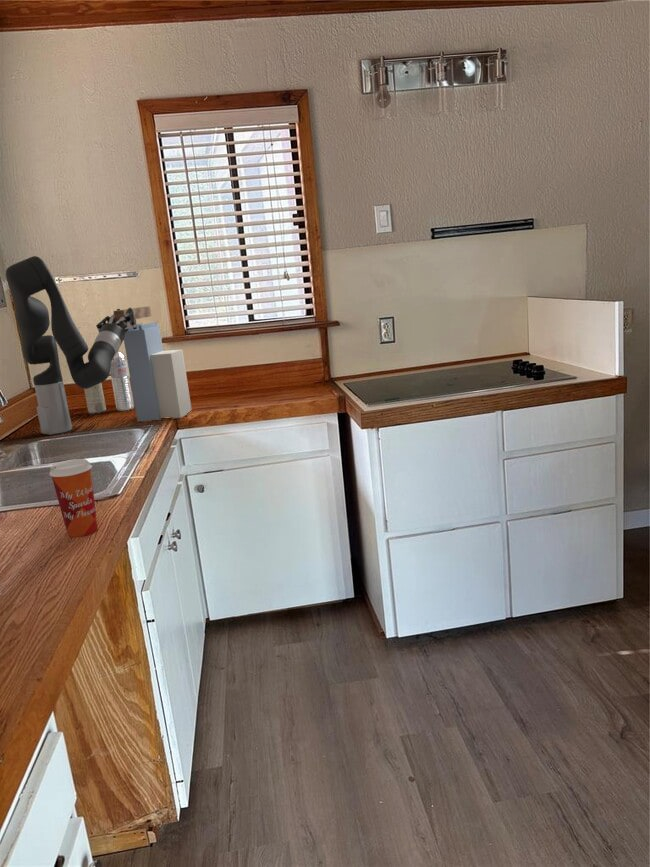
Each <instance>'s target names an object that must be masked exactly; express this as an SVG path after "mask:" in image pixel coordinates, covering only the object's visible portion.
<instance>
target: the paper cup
mask: <svg viewBox="0 0 650 867" xmlns="http://www.w3.org/2000/svg"><path fill="white" fill-rule="evenodd" d="M92 468H93V464H91V463H90V461H88V460H87V459H85V458H74V459H68V460H63V461H60V462H57V463H54V464H53V465H51V466H50V472H49V476H50V477H51V478H52V482H53V486H54V489H55V493H56V498H57V501H58V502H57V503H58V505H59V508H60V512H61V517H62V520H63V522H64V526H65V530H66V534H67V535H68V537H70V538H83V537H86V536H90V535H92V534H95V533H96V532H97V531H98V529H99V528H98V517H97V510H96V509H97V508H96V502H95V494H94V486H93V479H92V472H91V470H92Z"/></svg>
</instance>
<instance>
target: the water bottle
mask: <svg viewBox="0 0 650 867" xmlns="http://www.w3.org/2000/svg"><path fill="white" fill-rule="evenodd" d="M110 380H111V385H112V390H113V396H114V402H115V408H116V410H117V411H118V412H125V411H126V410H127V411H130V409H131V410H134V409H135V403H134V397H133V391H132V385H131V380H130V374H129V368H128V362H127V356H126V354H124V352H123V351H120V350H118V351H117V353H116V354H115V356H114V357H113V359H112V361H111V368H110Z"/></svg>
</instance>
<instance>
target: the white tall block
mask: <svg viewBox="0 0 650 867" xmlns="http://www.w3.org/2000/svg"><path fill="white" fill-rule="evenodd" d="M184 357H185V356H184V351H183V348H182V349H171V350H163V351H162V352H158V353H155V354H152V355H151V360H152V366H153V373H154V379H155V385H156V391H157V397H158V404H159V410H160V416H161V418H165V417H174V418H173V419H181V418H183V417H185V416H186V415H188V414H189V413H188V412H190V411H191V410H192V409H193V408H192V404H191V403H192V402H191V398H190V391H189V385H188V384H189V383H188V378H187V370H186V363H185V358H184ZM192 411H193V410H192ZM192 411H191V412H192ZM191 412H190V413H191ZM187 413H188V414H187Z"/></svg>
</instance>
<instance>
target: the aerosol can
mask: <svg viewBox="0 0 650 867" xmlns="http://www.w3.org/2000/svg"><path fill="white" fill-rule="evenodd" d="M87 362H88V361H87ZM87 362H85V363H87ZM102 384H103V382H102V383H99V384H97V385H95V386H93V387H90V388H87V389H83V390H84V397H85V401H86V406H87V412H88V414H89V415H96V414H95V413H98V414H102V413H101V412H103V413H106V412H107V411H106V410H107V406H106V400H105V396H104V389H103V385H102ZM105 411H106V412H105Z"/></svg>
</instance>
